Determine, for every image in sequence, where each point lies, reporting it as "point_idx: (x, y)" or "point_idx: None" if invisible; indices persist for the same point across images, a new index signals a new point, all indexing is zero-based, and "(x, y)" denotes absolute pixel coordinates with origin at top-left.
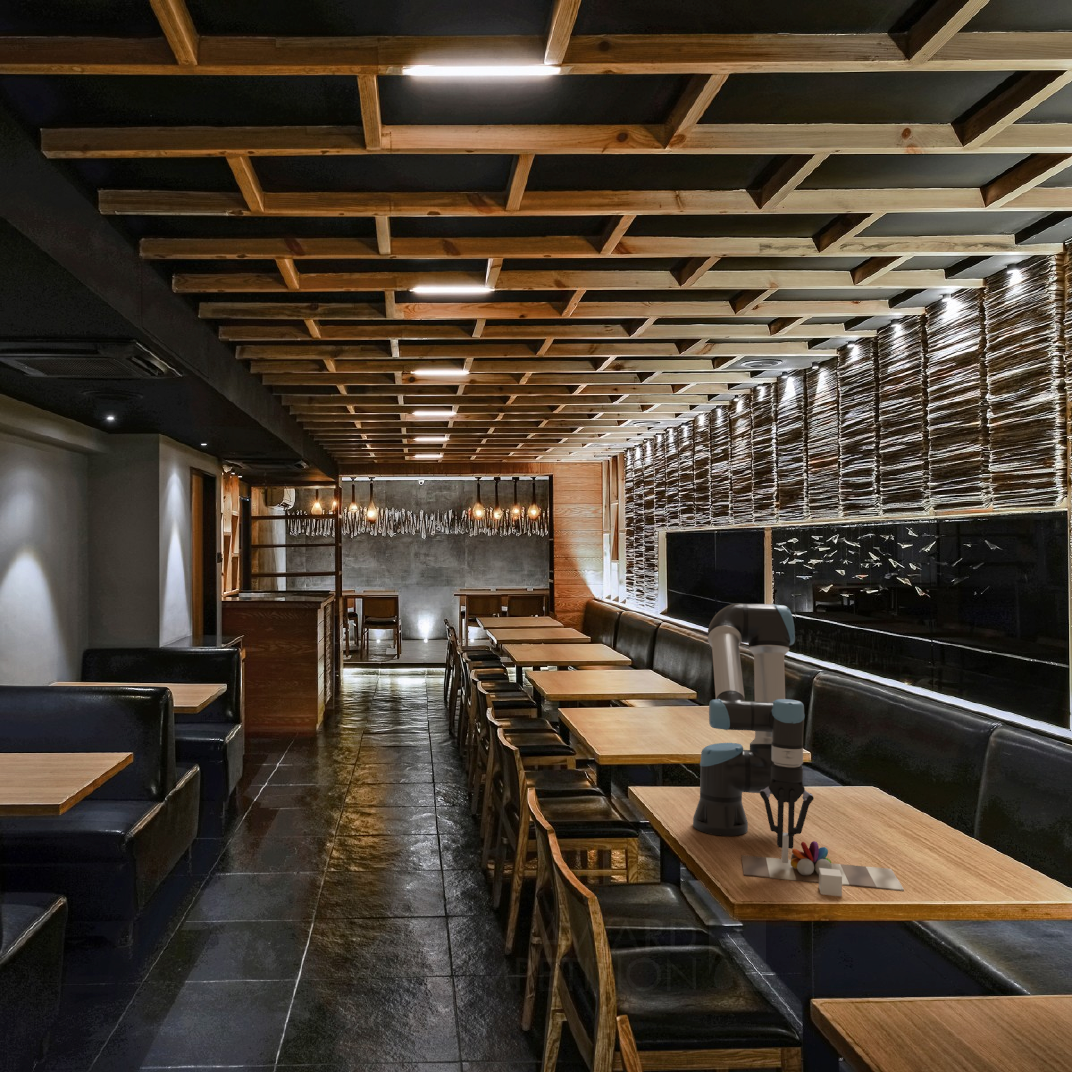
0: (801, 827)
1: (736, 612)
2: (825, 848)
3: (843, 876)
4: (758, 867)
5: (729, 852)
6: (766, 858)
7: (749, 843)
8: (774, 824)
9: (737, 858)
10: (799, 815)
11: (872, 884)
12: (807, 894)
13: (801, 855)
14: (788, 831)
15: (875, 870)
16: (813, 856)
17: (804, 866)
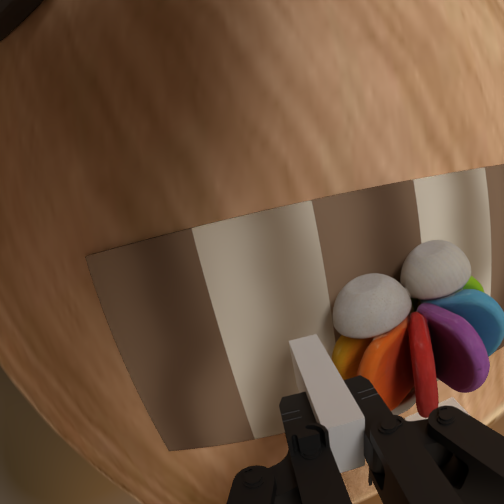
0: (461, 470)
1: None
2: (502, 336)
3: None
4: (193, 378)
5: (35, 227)
6: (198, 245)
7: (90, 47)
8: (275, 500)
9: (82, 291)
10: (501, 491)
11: None
12: (366, 472)
13: (393, 409)
14: (372, 466)
15: None
16: (439, 378)
17: None
